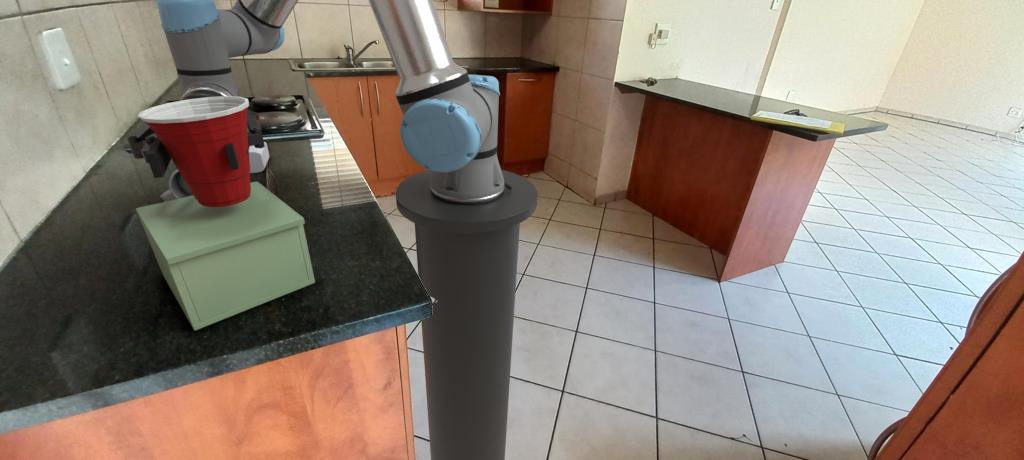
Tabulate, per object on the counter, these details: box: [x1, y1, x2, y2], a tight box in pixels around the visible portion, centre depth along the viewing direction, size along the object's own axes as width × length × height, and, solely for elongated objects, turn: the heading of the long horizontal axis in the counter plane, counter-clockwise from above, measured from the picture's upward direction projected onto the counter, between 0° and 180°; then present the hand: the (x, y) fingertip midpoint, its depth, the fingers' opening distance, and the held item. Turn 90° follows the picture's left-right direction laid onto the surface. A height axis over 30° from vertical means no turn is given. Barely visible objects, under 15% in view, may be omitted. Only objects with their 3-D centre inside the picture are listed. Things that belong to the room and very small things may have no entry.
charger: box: [249, 141, 270, 174], centre depth 99 cm, size 5×9×15 cm
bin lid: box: [135, 181, 306, 265], centre depth 55 cm, size 16×15×1 cm
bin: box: [137, 214, 316, 331], centre depth 58 cm, size 16×15×10 cm
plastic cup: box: [137, 96, 251, 207], centre depth 51 cm, size 11×11×12 cm
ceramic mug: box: [159, 168, 193, 202], centre depth 80 cm, size 11×8×8 cm
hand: (194, 162), depth 47 cm, fingers closed on plastic cup, 6 cm apart
